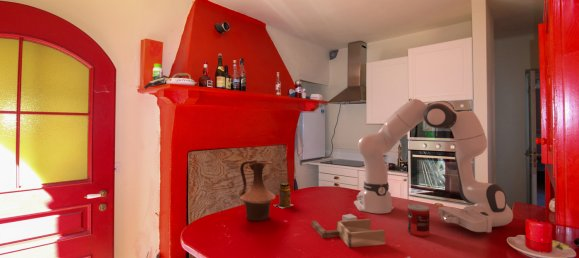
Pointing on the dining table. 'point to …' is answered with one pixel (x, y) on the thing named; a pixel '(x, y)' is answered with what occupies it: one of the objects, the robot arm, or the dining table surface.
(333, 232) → the crook tool
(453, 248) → the dining table surface
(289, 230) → the dining table surface
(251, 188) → the pitcher
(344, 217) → the block
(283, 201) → the condiment
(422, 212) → the canned food
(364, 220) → the cubby
